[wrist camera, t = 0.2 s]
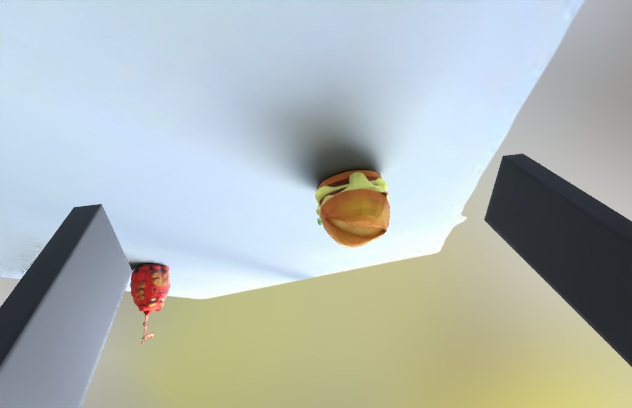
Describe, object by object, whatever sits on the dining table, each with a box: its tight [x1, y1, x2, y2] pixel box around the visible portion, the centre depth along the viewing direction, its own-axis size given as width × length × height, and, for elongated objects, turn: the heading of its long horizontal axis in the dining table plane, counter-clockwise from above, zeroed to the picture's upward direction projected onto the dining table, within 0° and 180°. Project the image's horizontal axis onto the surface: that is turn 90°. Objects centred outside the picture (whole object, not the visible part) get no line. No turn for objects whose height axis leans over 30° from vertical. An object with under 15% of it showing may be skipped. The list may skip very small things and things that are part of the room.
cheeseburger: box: [315, 170, 390, 247], centre depth 46 cm, size 10×11×10 cm
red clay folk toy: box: [130, 264, 170, 345], centre depth 69 cm, size 8×7×15 cm
